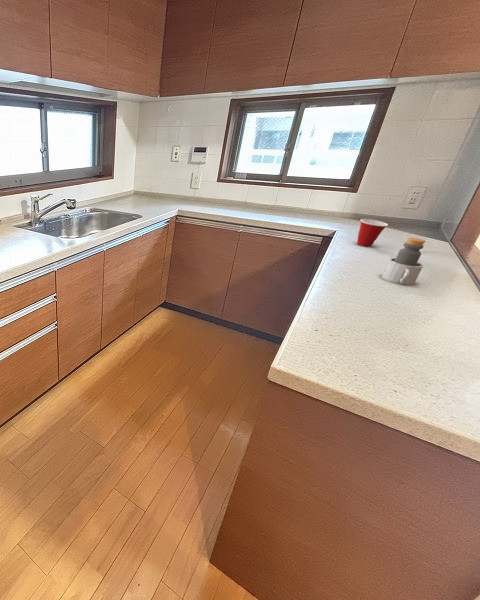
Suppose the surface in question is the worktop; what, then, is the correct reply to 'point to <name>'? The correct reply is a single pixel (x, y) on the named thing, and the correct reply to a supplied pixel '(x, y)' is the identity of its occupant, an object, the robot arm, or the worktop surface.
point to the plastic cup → (369, 231)
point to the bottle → (410, 252)
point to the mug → (401, 272)
